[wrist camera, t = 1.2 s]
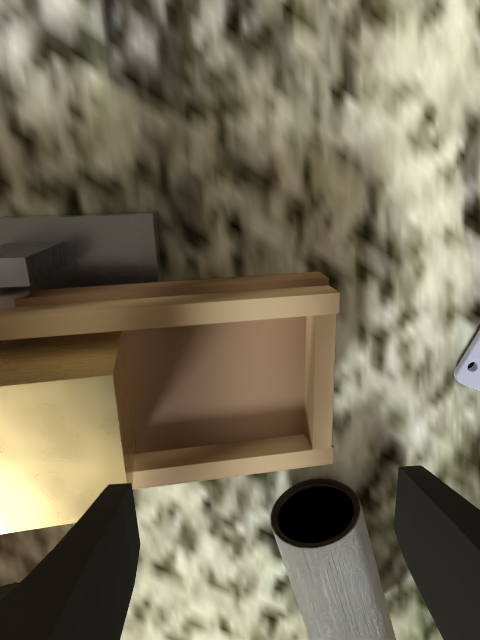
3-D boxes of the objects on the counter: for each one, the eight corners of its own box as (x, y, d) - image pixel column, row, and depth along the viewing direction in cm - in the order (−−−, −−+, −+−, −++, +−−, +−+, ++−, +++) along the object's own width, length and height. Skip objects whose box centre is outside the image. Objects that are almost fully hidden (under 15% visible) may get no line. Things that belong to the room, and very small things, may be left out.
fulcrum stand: (156, 211, 20) (134, 223, 15) (178, 463, 24) (166, 535, 19) (-74, 219, 20) (-170, 234, 15) (-12, 471, 24) (-73, 546, 19)
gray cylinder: (301, 653, 26) (252, 516, 23) (352, 598, 28) (313, 466, 25) (362, 718, 22) (314, 565, 19) (416, 649, 24) (380, 501, 21)
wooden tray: (318, 268, 19) (340, 282, 16) (314, 439, 21) (332, 471, 19) (-357, 312, 15) (-451, 336, 13) (-265, 507, 18) (-330, 558, 16)
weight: (121, 330, 17) (112, 375, 13) (135, 445, 18) (130, 514, 15) (-22, 343, 16) (-76, 394, 12) (5, 462, 18) (-35, 539, 14)
